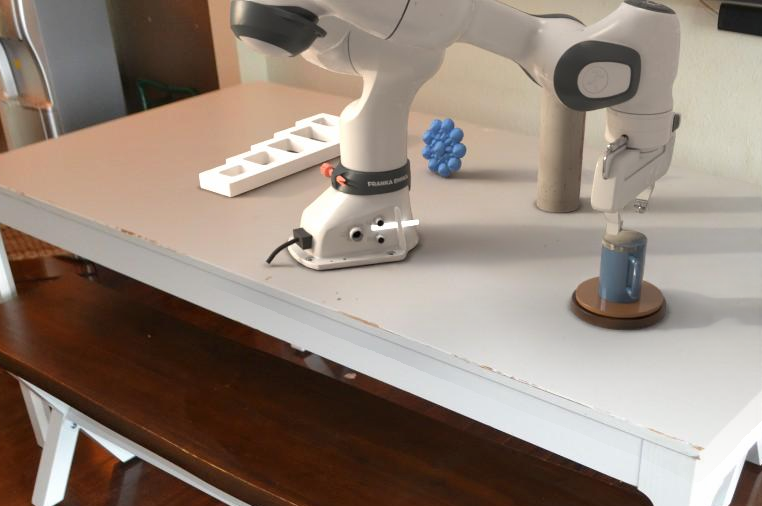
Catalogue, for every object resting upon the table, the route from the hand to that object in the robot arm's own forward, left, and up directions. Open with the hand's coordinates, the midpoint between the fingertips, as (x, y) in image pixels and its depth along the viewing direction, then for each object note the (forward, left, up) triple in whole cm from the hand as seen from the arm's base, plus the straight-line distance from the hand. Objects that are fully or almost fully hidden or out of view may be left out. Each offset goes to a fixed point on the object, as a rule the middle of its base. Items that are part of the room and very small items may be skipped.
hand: (627, 222), depth 141 cm
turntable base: (0, 0, -14) cm, 14 cm away
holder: (-22, +90, -14) cm, 94 cm away
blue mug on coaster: (0, 0, -12) cm, 12 cm away
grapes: (+4, +64, -14) cm, 65 cm away
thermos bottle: (+15, +40, -14) cm, 45 cm away
